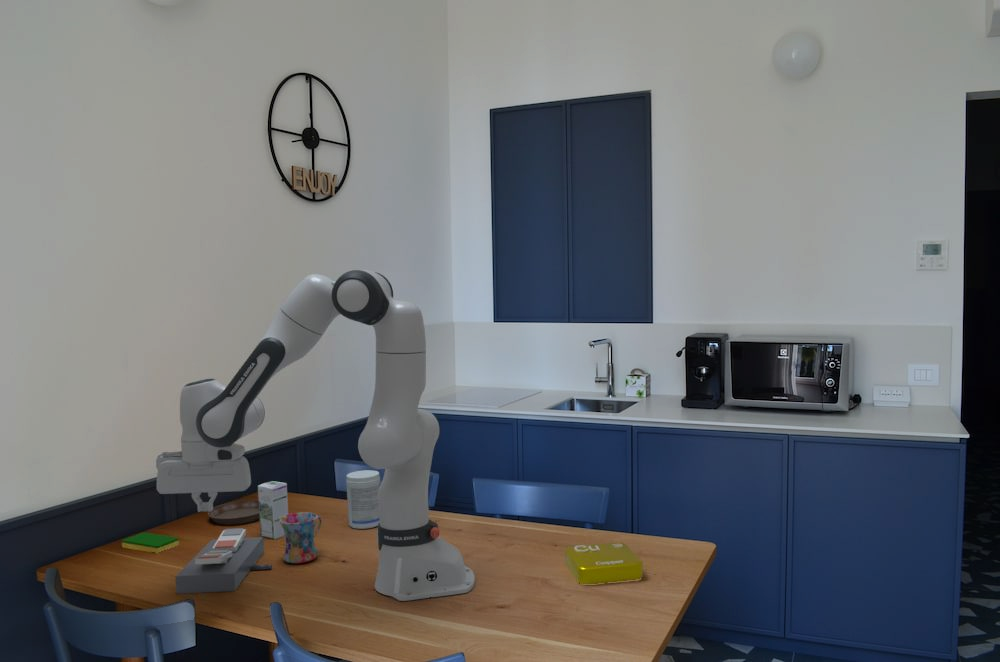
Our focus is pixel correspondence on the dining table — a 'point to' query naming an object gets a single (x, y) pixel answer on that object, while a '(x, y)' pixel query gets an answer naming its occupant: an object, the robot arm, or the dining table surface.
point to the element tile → (603, 563)
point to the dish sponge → (150, 542)
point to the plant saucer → (236, 512)
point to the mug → (300, 536)
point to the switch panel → (221, 569)
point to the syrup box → (272, 508)
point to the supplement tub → (363, 499)
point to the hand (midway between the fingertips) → (205, 511)
